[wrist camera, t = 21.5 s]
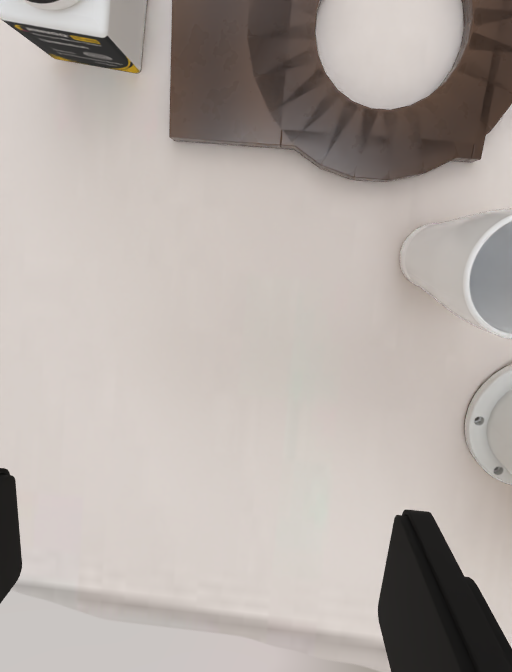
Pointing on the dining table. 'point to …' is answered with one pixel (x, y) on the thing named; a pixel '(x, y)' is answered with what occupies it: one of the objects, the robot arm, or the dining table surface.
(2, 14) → the medicine bottle
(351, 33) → the dining table surface
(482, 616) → the robot arm
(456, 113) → the holder board
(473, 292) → the drinking glass
